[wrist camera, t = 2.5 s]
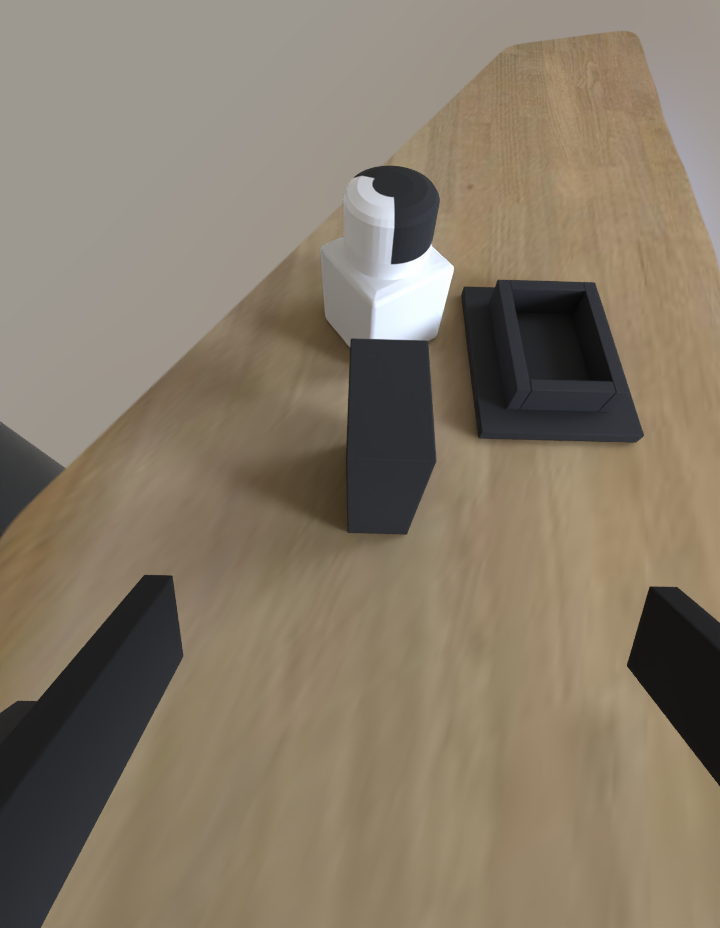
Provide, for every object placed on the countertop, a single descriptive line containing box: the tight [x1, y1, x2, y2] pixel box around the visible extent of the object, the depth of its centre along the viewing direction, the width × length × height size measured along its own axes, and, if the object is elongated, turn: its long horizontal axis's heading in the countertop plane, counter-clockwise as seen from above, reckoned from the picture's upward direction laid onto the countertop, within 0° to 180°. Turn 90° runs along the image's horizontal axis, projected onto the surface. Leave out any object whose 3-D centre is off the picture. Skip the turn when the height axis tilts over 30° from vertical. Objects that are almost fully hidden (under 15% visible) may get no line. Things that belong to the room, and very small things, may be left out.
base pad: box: [461, 280, 644, 442], centre depth 34 cm, size 12×15×4 cm
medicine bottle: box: [320, 166, 454, 347], centre depth 31 cm, size 7×7×12 cm
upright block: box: [346, 338, 436, 534], centre depth 25 cm, size 4×7×11 cm, turn 179°
